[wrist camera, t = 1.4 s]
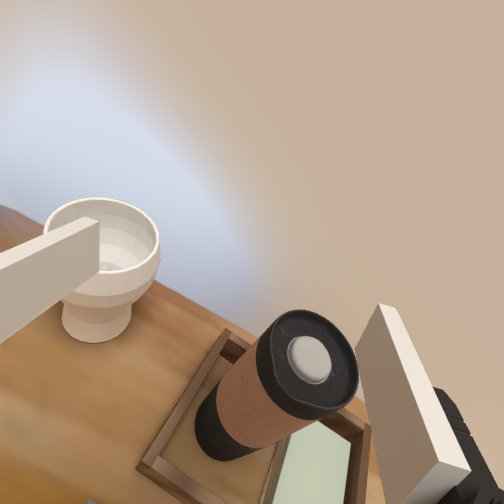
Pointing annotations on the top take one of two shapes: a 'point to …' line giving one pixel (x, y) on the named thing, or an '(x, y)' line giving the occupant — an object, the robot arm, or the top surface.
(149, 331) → the top surface
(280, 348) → the travel mug
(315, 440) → the top offcut
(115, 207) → the cup
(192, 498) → the brown wooden tray
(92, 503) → the charcoal mat
